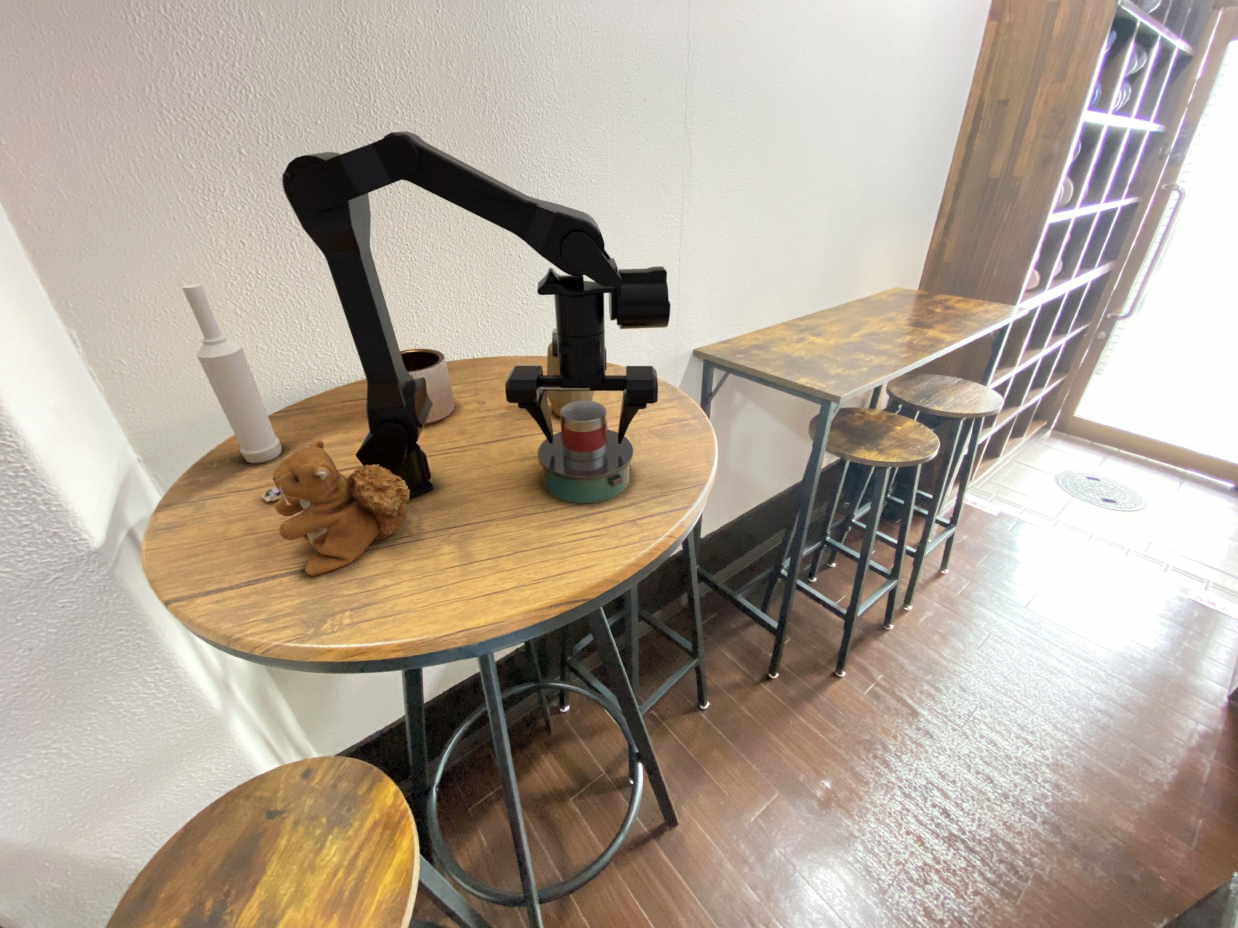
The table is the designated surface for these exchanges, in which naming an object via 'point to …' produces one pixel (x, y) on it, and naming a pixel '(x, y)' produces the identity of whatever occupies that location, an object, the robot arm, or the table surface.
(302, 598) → the table surface
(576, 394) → the squeeze bottle
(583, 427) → the can
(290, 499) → the stuffed squirrel
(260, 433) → the bottle
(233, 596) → the table surface
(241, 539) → the table surface
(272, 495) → the granola bar
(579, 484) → the round lidded tin
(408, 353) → the planter
